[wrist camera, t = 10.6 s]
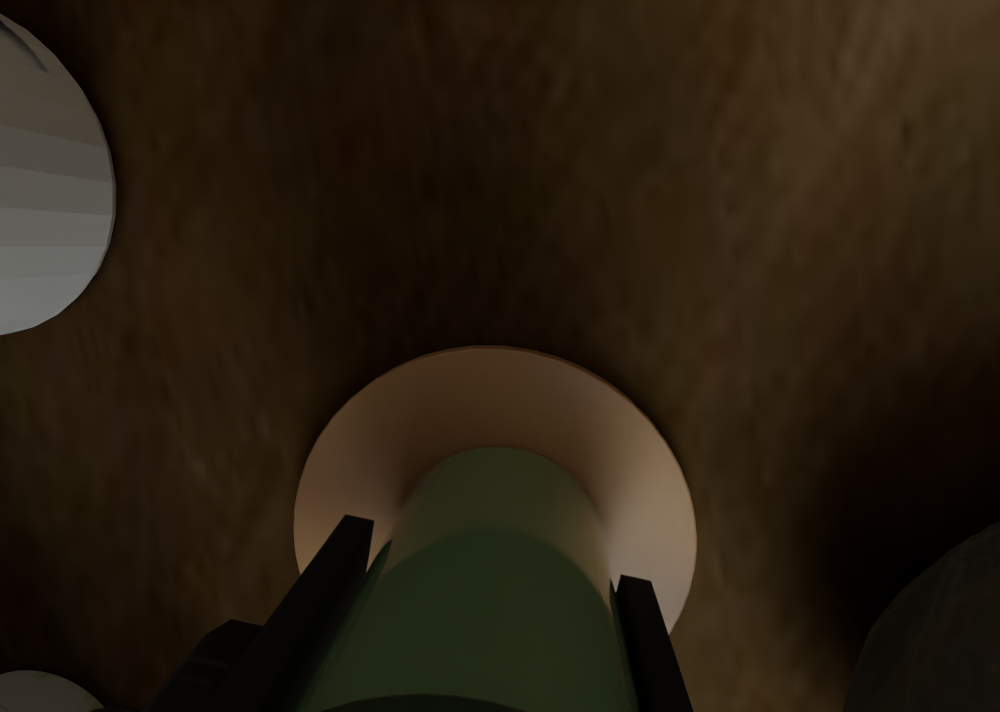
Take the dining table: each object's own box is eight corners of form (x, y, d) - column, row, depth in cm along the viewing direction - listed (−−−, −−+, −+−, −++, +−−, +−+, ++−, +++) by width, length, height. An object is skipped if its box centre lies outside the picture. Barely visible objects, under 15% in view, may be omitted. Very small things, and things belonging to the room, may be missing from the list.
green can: (585, 664, 16) (641, 1208, 7) (373, 616, 17) (160, 1082, 7) (638, 462, 15) (793, 813, 6) (406, 414, 15) (194, 675, 6)
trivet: (637, 740, 18) (641, 757, 17) (281, 660, 18) (272, 674, 18) (740, 391, 15) (749, 397, 15) (325, 307, 16) (317, 309, 15)
